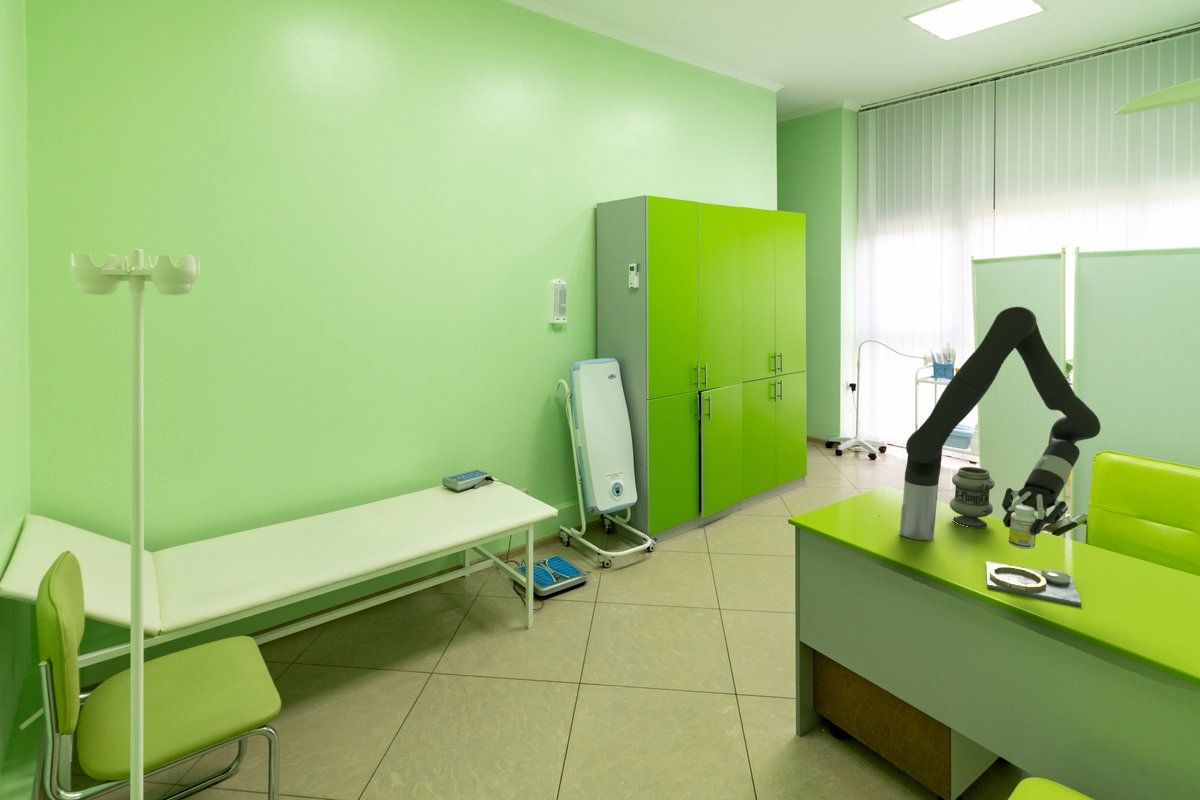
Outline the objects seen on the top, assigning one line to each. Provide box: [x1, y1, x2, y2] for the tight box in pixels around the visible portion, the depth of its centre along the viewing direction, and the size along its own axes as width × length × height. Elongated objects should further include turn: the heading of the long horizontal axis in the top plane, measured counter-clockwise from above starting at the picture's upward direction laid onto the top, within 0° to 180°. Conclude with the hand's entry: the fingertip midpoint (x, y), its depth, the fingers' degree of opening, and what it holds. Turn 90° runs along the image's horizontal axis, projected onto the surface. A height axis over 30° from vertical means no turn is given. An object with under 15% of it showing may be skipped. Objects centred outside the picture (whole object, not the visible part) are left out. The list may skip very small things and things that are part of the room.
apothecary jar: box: [949, 466, 995, 529], centre depth 199 cm, size 12×12×18 cm
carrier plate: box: [985, 560, 1082, 607], centre depth 158 cm, size 19×16×2 cm
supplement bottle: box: [1008, 504, 1038, 550], centre depth 156 cm, size 6×6×10 cm
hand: (1019, 529), depth 155 cm, fingers closed on supplement bottle, 5 cm apart
